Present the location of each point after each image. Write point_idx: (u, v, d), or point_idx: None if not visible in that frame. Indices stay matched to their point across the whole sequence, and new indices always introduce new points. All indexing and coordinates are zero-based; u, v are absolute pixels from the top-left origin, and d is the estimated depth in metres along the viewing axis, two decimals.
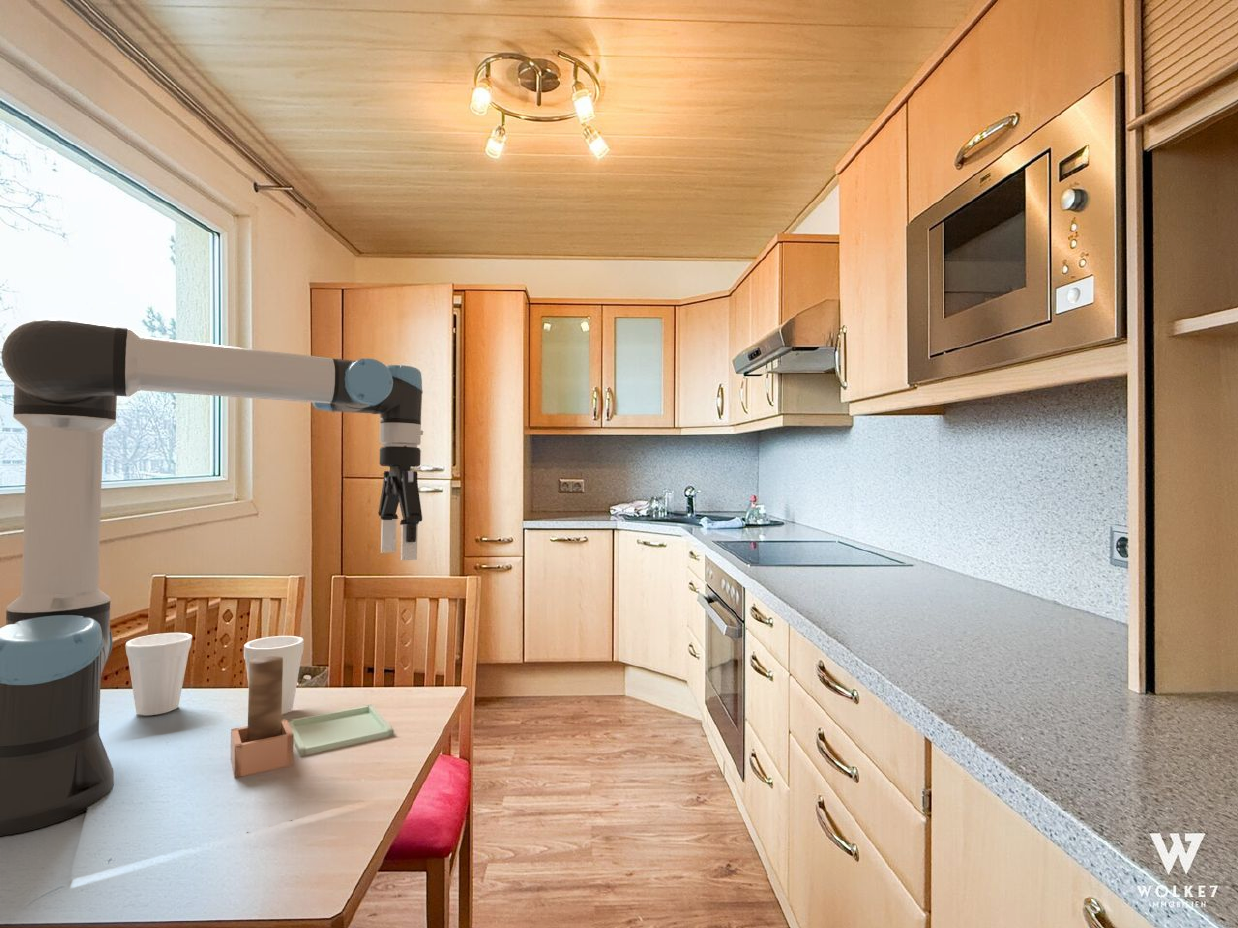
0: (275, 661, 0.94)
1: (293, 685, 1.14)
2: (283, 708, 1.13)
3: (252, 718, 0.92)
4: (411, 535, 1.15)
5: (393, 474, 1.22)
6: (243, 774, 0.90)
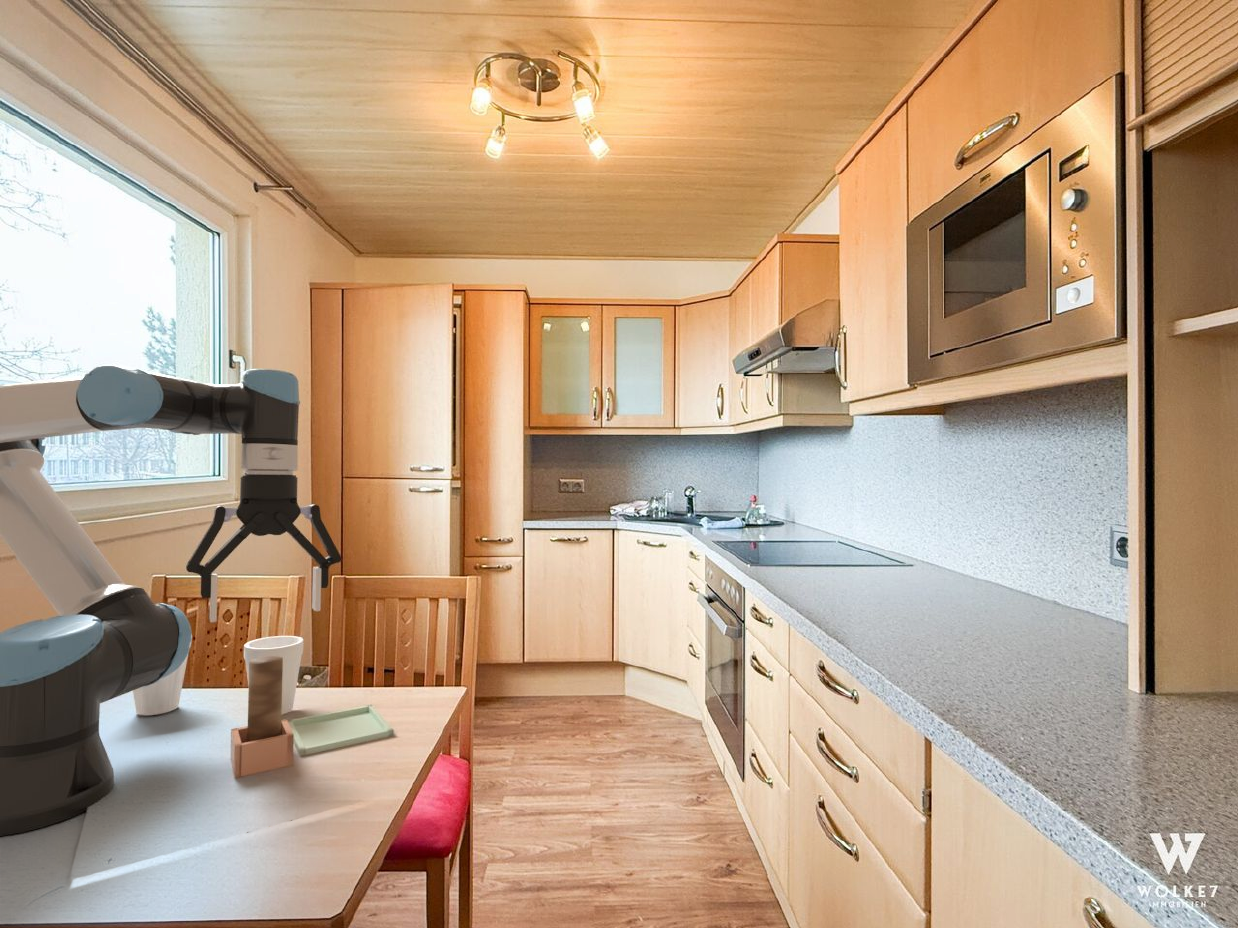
0: (275, 661, 0.94)
1: (293, 685, 1.14)
2: (283, 708, 1.13)
3: (252, 718, 0.92)
4: (201, 588, 0.90)
5: None
6: (243, 774, 0.90)
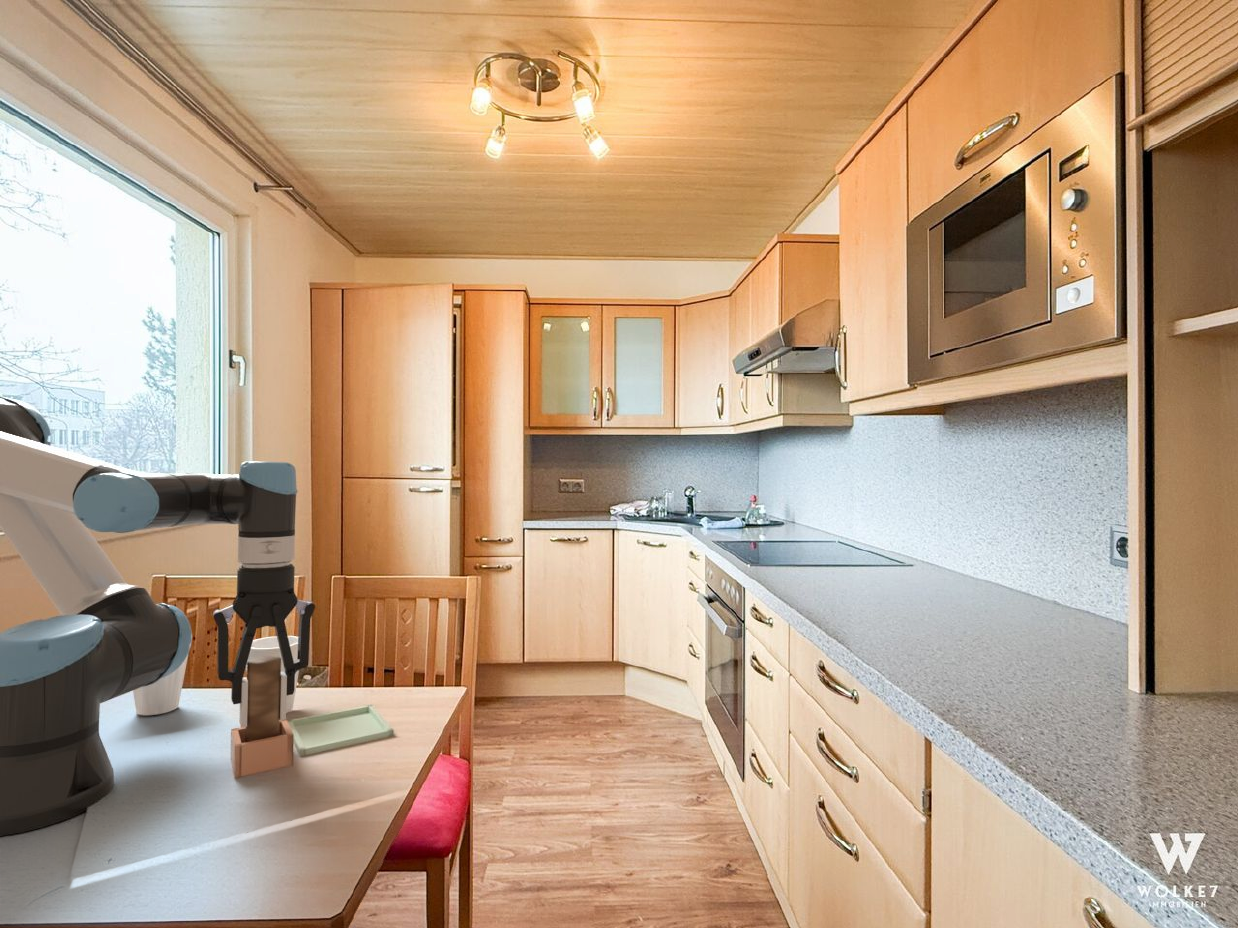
0: (273, 661, 0.94)
1: None
2: None
3: (250, 718, 0.92)
4: (232, 694, 0.92)
5: None
6: (243, 774, 0.90)
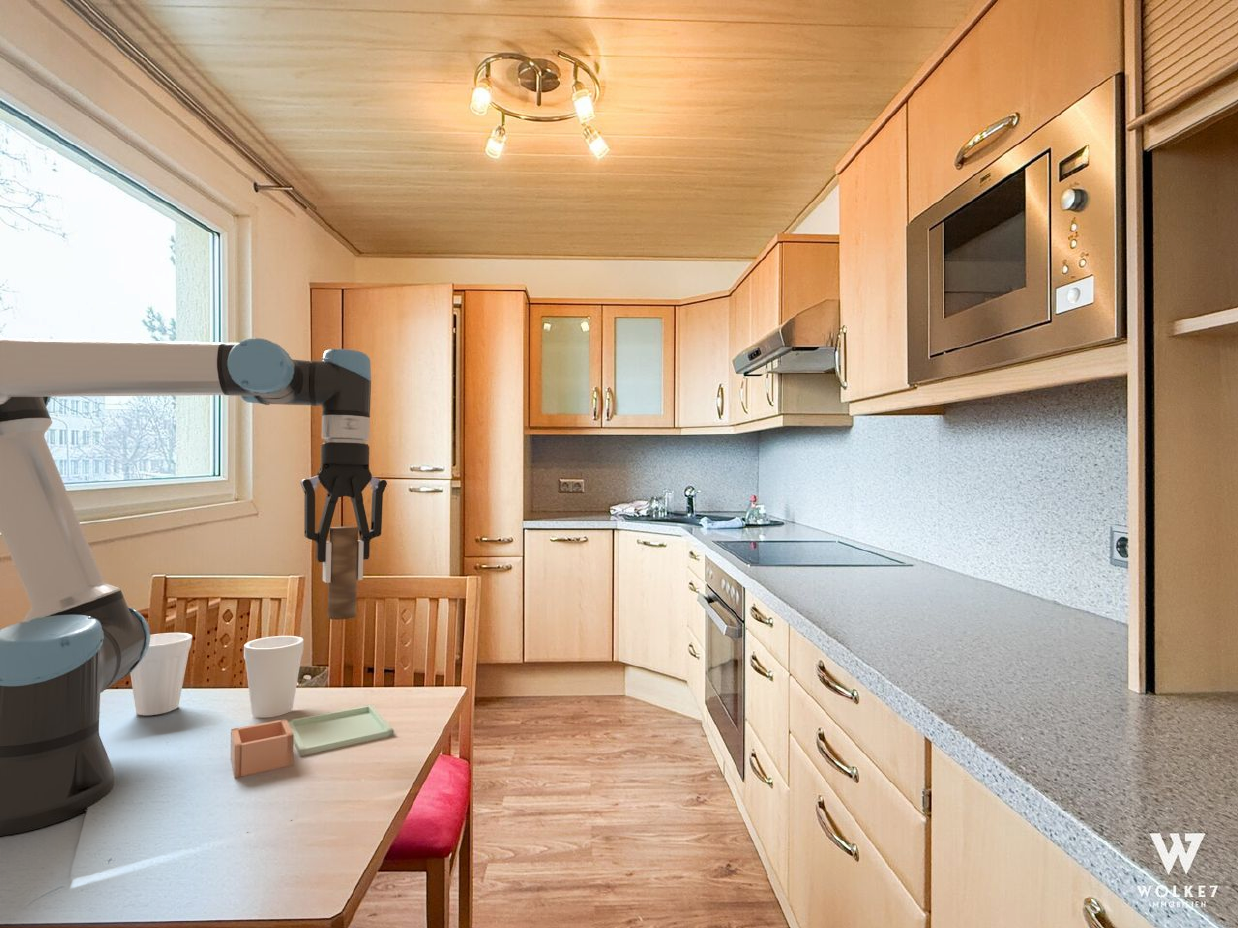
0: (352, 528, 1.06)
1: (293, 685, 1.14)
2: (283, 708, 1.13)
3: (333, 576, 1.05)
4: (317, 554, 1.04)
5: None
6: (243, 774, 0.90)
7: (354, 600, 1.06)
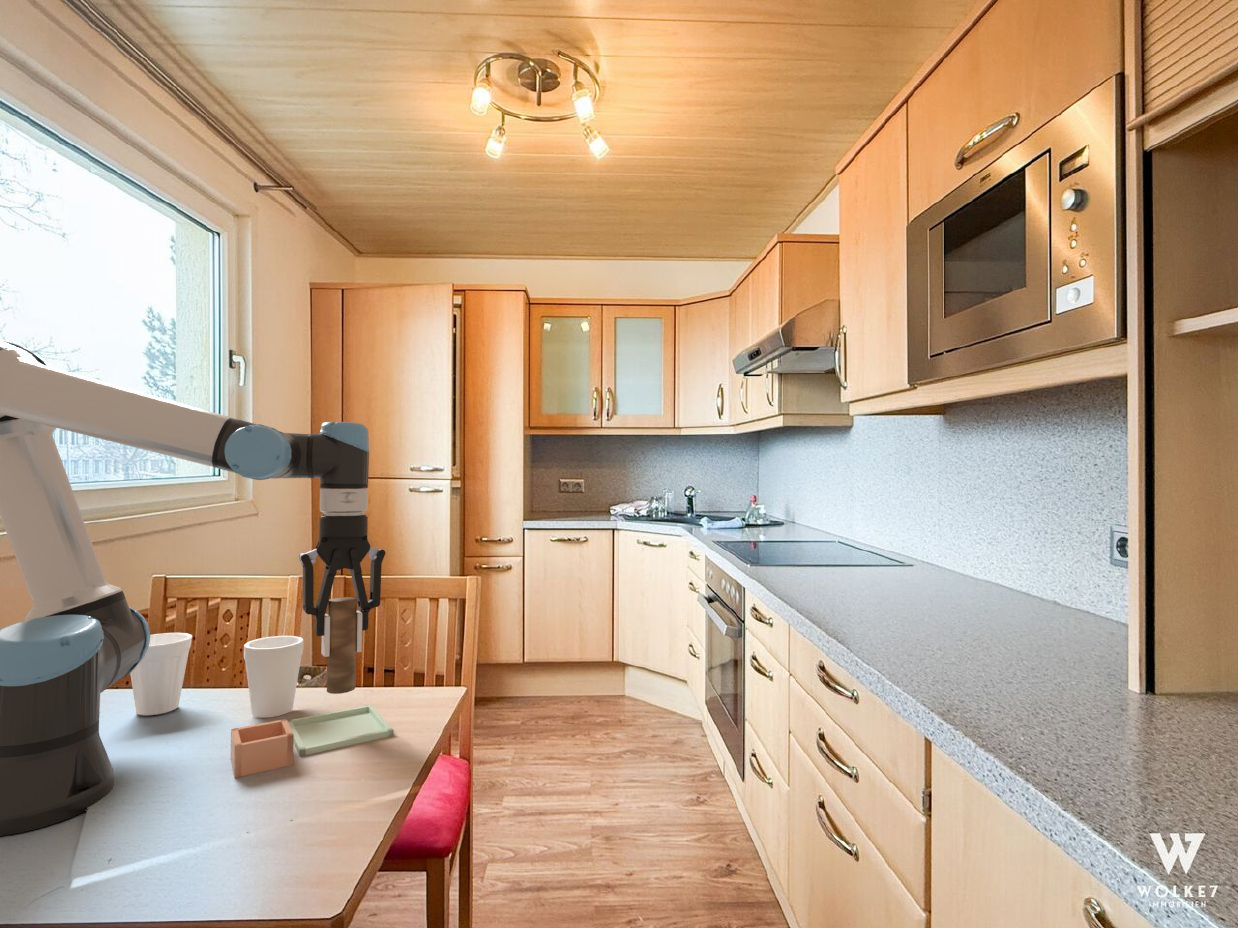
0: (351, 600, 1.06)
1: (293, 685, 1.14)
2: (283, 708, 1.13)
3: (331, 649, 1.04)
4: (315, 627, 1.04)
5: None
6: (243, 774, 0.90)
7: (353, 673, 1.06)
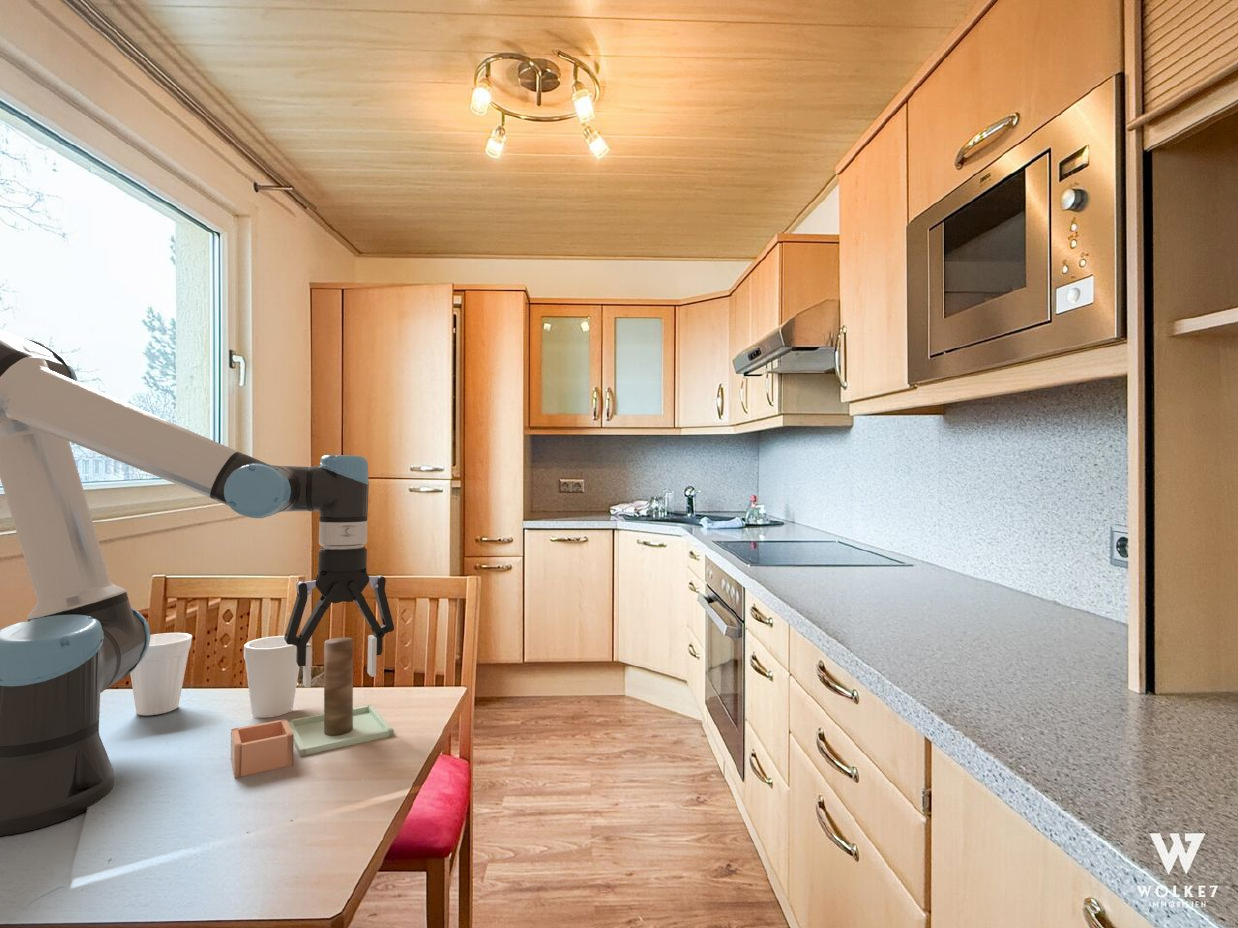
0: (347, 641, 1.06)
1: (293, 685, 1.14)
2: (283, 708, 1.13)
3: (328, 691, 1.04)
4: (297, 657, 1.03)
5: None
6: (243, 774, 0.90)
7: (350, 714, 1.06)
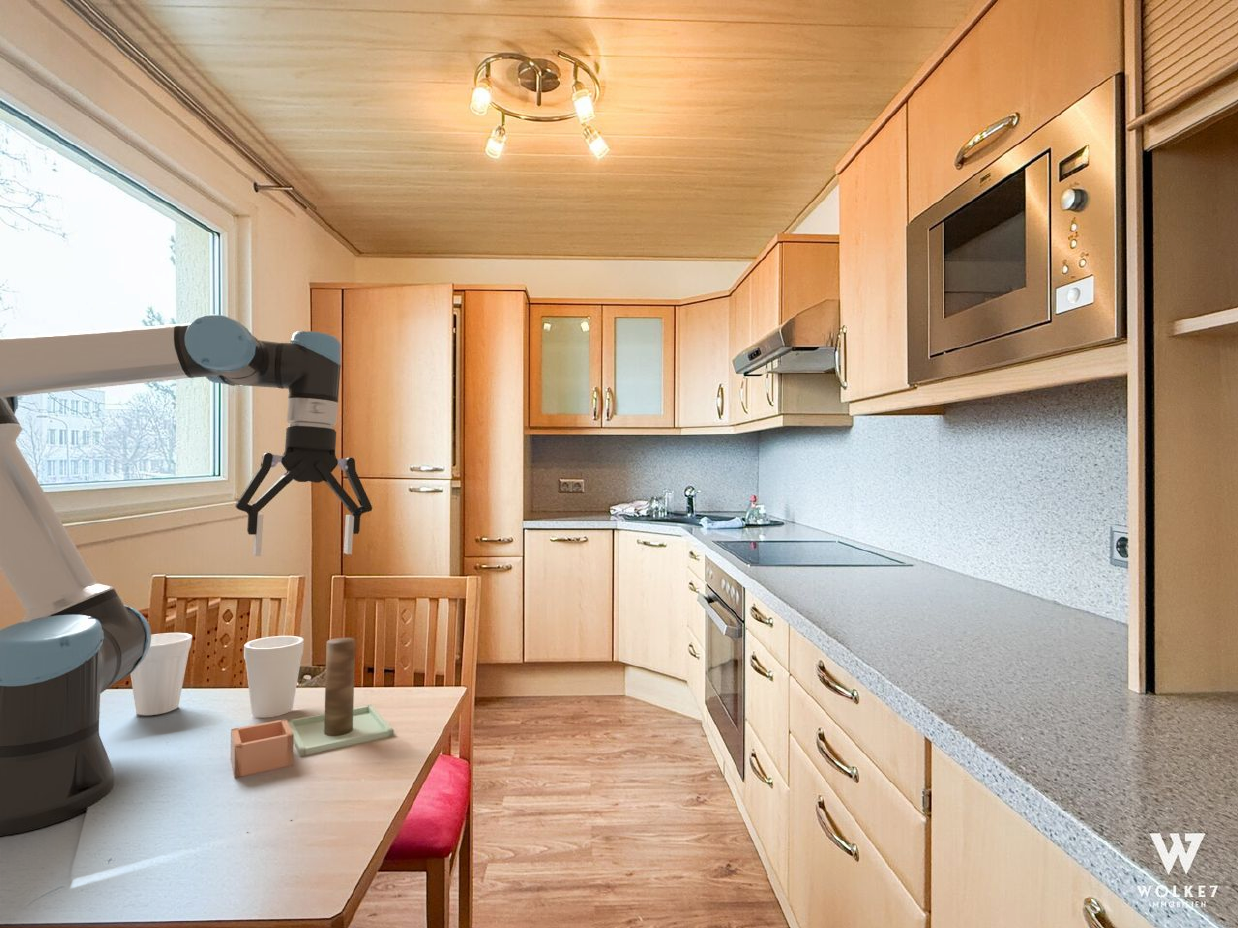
0: (349, 641, 1.06)
1: (293, 685, 1.14)
2: (283, 708, 1.13)
3: (329, 691, 1.04)
4: (248, 526, 1.00)
5: None
6: (243, 774, 0.90)
7: (351, 714, 1.06)
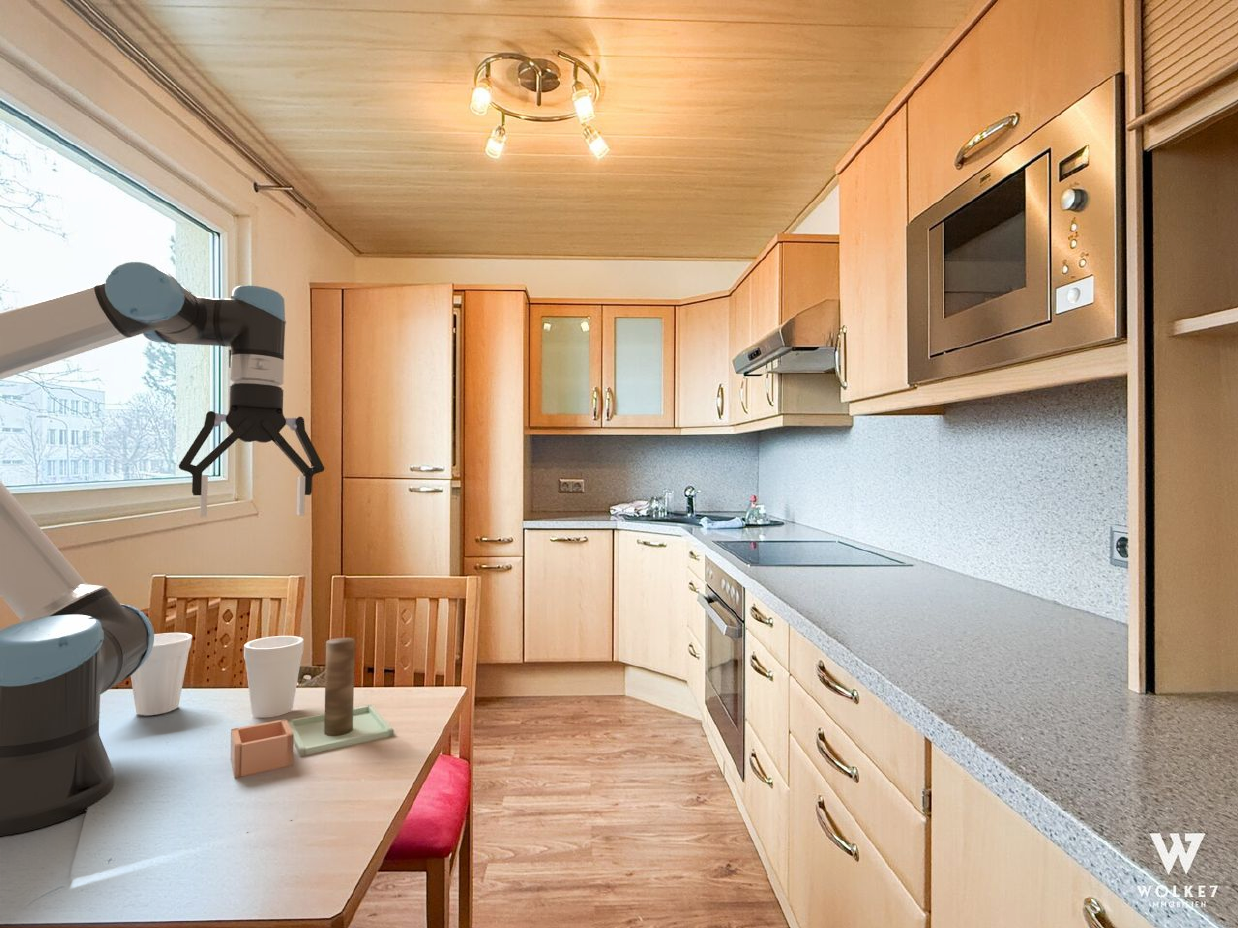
0: (348, 641, 1.06)
1: (293, 685, 1.14)
2: (283, 708, 1.13)
3: (329, 692, 1.04)
4: (192, 487, 0.97)
5: None
6: (243, 774, 0.90)
7: (351, 714, 1.06)
